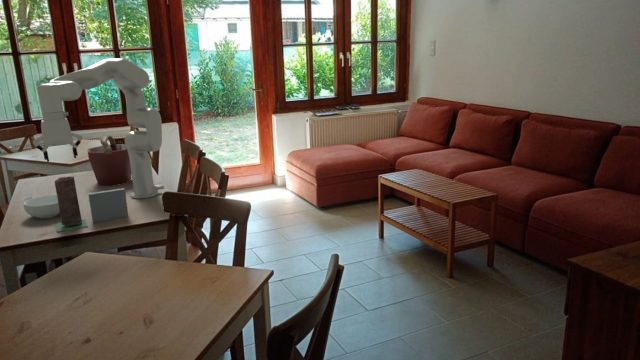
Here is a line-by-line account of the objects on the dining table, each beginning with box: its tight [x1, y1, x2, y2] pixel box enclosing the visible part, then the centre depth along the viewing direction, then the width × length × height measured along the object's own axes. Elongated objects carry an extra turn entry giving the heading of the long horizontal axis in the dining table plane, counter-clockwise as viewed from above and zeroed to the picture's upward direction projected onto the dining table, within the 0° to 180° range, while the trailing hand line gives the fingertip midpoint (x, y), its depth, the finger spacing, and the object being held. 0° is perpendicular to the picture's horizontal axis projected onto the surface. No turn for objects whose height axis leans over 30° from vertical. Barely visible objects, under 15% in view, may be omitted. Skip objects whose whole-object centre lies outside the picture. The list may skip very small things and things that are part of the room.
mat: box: [55, 218, 89, 233], centre depth 203 cm, size 11×10×1 cm
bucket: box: [87, 135, 132, 187], centre depth 266 cm, size 24×22×25 cm
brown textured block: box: [54, 176, 83, 226], centre depth 201 cm, size 8×7×20 cm
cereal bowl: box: [23, 194, 60, 219], centre depth 216 cm, size 17×17×7 cm
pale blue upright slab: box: [87, 187, 129, 223], centre depth 209 cm, size 14×2×12 cm, turn 119°
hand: (61, 159), depth 196 cm, fingers open, 9 cm apart
